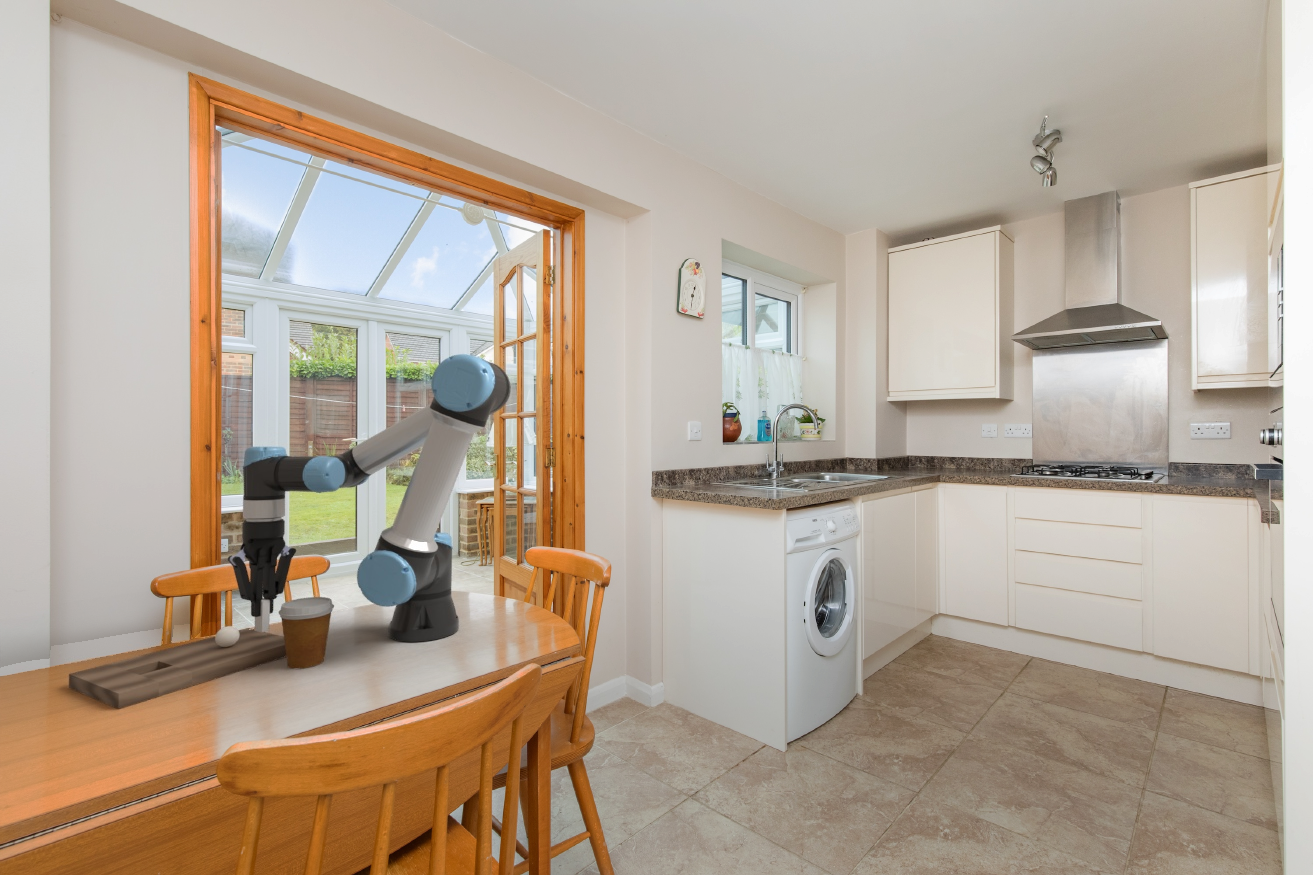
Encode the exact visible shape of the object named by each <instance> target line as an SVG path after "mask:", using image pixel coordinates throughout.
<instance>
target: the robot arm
mask: <svg viewBox="0 0 1313 875" xmlns="http://www.w3.org/2000/svg"><path fill="white" fill-rule="evenodd" d="M430 387H431V391H432V394H433V398H432V400H431V403H430V404H428V405H426V406H424V407H423V408H421V409H419V410H418V411H416V412H414V413H412V414H410V415H409V416H406V417H405V418H403V419H402V420H399V421H398V422H396V423H394V424H392V425H390V426H389V427H387V428H385V429H383V430H382V431H380V432H378V433H377V434H374V435H373V436H371V437H369V438H367V439H366V440H364V441H362V442H360V443H358V444H357V445H355V446H354V447H352V448H350V449H348V450H346V451H344V452H342V453H341V454H338V455H318V456H317V455H314V456H313V455H312V456H309V455H307V456H306V455H305V456H303V455H302V456H299V455H298V456H291V455H290V456H289V455H288V454H287V450H286V448H285V447H283V446H249V447H247V448H246V449H245V450H244V454H243V455H244V458H243V459H244V460H243V465H242V471H243V472H242V475H243V495H242V497H243V498H242V499H243V500H242V518H243V519H245V520H244V521H243V522H242V530H241V531H242V532H241V537H242V544H241V546H240V549H239V551H238V552H237V553H235V554H234V555H229V556H228V557H227V561H228V562H229V563H230V565H231V566H232V568H233V573H234V576H235V581H236V584H237V589H238V592H239V596H240V598H241V600H244V601H245V600H246V601H250V615H251V617H254V629H255V631H258V632H269V631H270V616H271V615H270V614H273V612H274V604H275V603H274V600H275V599H277V597H278V595H283V592H284V591H285V588H286V587H285V586H286V583H287V579H288V575H289V571H290V566H291V563H292V559H293V558H294V556H295V555H296V552H297V549H296V548H294V547H290V546H288V545H286V541H285V539H284V536H285V534H286V533H285V527H286V526H285V524H286V522H285V520H284V517H285V516H286V492H299V493H300V492H303V493H304V492H305V493H306V492H307V493H318V494H321V493H333V492H337V491H338V490H339V489H343V488H355V487H357V486H360V485H362V484H365V483H366V482H367V481H368V480H369V478H370V476H372V475H373V474H376V473H377V472H379V471H381V470H383V469H385V468H386V467H388V466H389V465H392V464H393V463H395V462H396V461H399V460H401V459H402V458H404V457H406V456H407V455H410V454H411V453H414V452H415V451H417V450H418V449H421V451H420V453H419V456H418V458H417V460H416V461H417V462H416V464H415V466H414V470H413V471H412V475H411V476H410V479H409V482H408V485H407V486H406V490H405V493H404V495H403V497H402V500H401V502H400V505H399V508H398V510H397V513H396V516H395V519H394V521H393V523H392V525H391V526H390V527H388V528H385V529H383V530H382V531H381V533H380V536H379V538H378V540H377V543H376V546H375V547H374V548H375V549H374V550H373V551H372V552H370V553H369V554H367V555H366V556H365V557H364V558H363V559H362V561H361V562H360V563H359V565H358V568H357V572H356V581H357V585H358V588H359V589H360V591H361V594H362V595H363V597H364V598H366V600H368V601H369V602H371V603H373V604H374V605H377V606H379V607H385V608H386V607H387V608H388V607H389V608H391V607H394V606H395V608H394V611H393V614H392V618H391V620H390V623H389V625H388V637H389V638H390V639H392V640H394V641H400V642H407V643H408V642H411V643H412V642H413V643H414V642H415V643H417V642H428V641H434V640H439V639H442V638H446V637H449V636H451V635H453V634H456V633H457V631H459V630H460V624H459V623H460V618H459V616H458V615H457V612H456V611H457V610H456V607H455V606H456V605H455V604H454V600H453V597H452V581H453V580H452V576H453V575H452V573H453V572H452V570H453V569H452V568H453V550H454V548H453V542H452V541H453V539H452V536H451V534H449V533H447V532H437V530H438V528H439V525H440V523H441V521H442V517H443V515H444V513H445V510H446V508H447V505H448V502H449V500H450V497H451V494H452V491H453V489H454V486H455V483H456V481H457V480H458V476H459V474H460V471H461V468H462V466H463V463H464V460H465V458H466V456H467V453H468V450H469V447H470V445H471V442H472V440H473V438H474V435H475V434H476V432H479V431H481V430H484V429H485V427H486V424H487V422H488V419H489V417H490V415H492V414H495V413H496V412H498V411H499V410H501V409H503V407H504V406H505V405H506V404H507V402H508V401H509V398H510V396H511V387H512V385H511V381H510V379H509V377H508V375H507V373H506V372H505V370H503V368H502V367H500V366H499V365H497V364H495V363H493V362H490V361H488V360H486V359H484V358H481V357H480V356H476V355H473V354H464V353H462V354H461V353H460V354H455V355H451V356H449V357H446V358H445V359H444V360H442V361H441V362H440V363H439V364H438V365H437V366H436V368H435V369H434V372H433V374H432V377H431V382H430ZM246 560H248V562H249V563H248V568H249V570H250V574H249V573H248V569H247V565H246V563H245V562H246ZM249 576H250V577H249Z"/></svg>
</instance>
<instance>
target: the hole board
mask: <svg viewBox="0 0 1313 875" xmlns="http://www.w3.org/2000/svg"><path fill="white" fill-rule="evenodd" d="M249 629H253V630H249ZM238 631H239V633H240V636H239V639H238V641H237V642H236V643H235V644H234V645H232V646H229V647H221V646H219V645H218V644H217V643H216V641H215V636H211V637H207V638H203V639H201V640H196V641H191V642H188V643H185V644H180V645H176V646H172V647H169V648H165V649H161V650H157V651H153V652H149V653H145V654H141V655H138V656H134V657H130V658H126V659H122V660H118V661H117V660H116V661H113V662H109V663H105V664H103V665H99V666H95V667H91V668H87V669H86V668H85V669H83V670H79V671H76V672H72V673H71V672H70V673H68V689H70V690H73V691H75V692H77V693H80V694H83V695H84V696H86V697H89V698H91V699H93V700H96V701H98V702H101V703H103V704H105V705H108V706H110V707H112V708H115V709H117V710H121V709H124V708H126V707H130V706H133V705H136V704H140V703H142V702H147V701H149V700H151V699H154V698H158V697H161V696H164V695H168V694H171V693H174V692H177V691H180V690H184V689H187V688H190V687H193V685H194V686H197V685H200V684H203V683H206V682H210V681H213V680H216V679H220V678H222V677H225V676H229V675H231V674H234V673H238V672H240V671H245V670H247V669H251V668H254V667H256V666H257V665H258V666H261V665H264V664H267V663H270V662H274V661H277V660H279V659H282V658H287V657H286V650H285V642H284V635H283V636H282V635H279V634H275V633H271V632H268V631H266V632H258V631H255V628H250V627H247V628H241V629H238ZM260 664H261V665H260ZM215 678H216V679H215ZM209 680H210V681H209Z"/></svg>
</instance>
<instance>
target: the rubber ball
mask: <svg viewBox="0 0 1313 875" xmlns="http://www.w3.org/2000/svg"><path fill="white" fill-rule="evenodd" d="M238 630H239V629H238V628H236V627H235V626H232V625H228V626H224V627H222V628H220V629H219V630H218V631H217V632H216V633H215V636H214V637H215V641H216V643H217V644H218V645H219V646H221V647H229V646H232V645H234V644H235V643H236V642H237V641H238V639H239V636H240V633H239V631H238Z"/></svg>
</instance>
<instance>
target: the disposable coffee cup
mask: <svg viewBox="0 0 1313 875" xmlns="http://www.w3.org/2000/svg"><path fill="white" fill-rule="evenodd" d="M334 607H335V605H334V604H333V601H332V599H331V598H329V597H325V596H311V597H302V598H296V599H292V600H288V601H286V602H283V603H282V604H281V606H280V610H279V611H278V615H279V617H280V618H281V624H282V625H281V626H282V633H283V634H282V635H283V637H284V642H285V650H286V657H285V658H286V665H287V668H290V669H294V668H300V669H307V668H313V667H316V666H319V665H321V664H322V663H324V662H325V658H326V657H325V656H326V649H327V645H328V644H327V642H328V636H329V630H330V624H331V623H330V622H331V616H332V612H333V609H334ZM312 666H313V667H312Z"/></svg>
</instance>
